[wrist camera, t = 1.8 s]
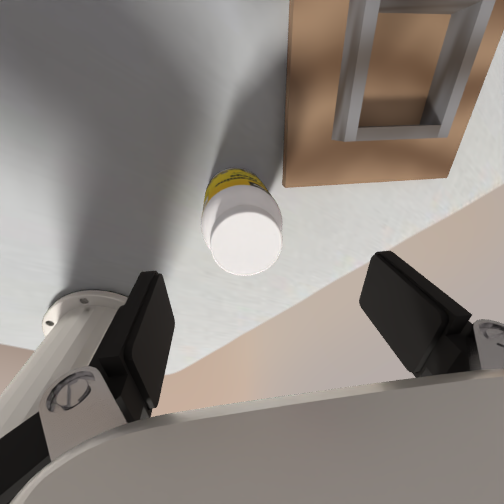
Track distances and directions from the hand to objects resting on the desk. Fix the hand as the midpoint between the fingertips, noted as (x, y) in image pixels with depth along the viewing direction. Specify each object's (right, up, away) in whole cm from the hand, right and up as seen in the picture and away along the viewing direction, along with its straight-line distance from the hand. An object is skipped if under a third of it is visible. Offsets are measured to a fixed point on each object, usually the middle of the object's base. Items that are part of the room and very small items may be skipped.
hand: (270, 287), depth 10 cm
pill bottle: (-3, +7, +14) cm, 16 cm away
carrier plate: (+11, +17, +10) cm, 23 cm away
